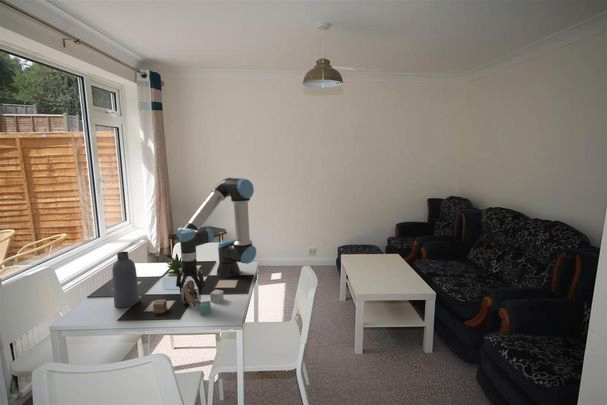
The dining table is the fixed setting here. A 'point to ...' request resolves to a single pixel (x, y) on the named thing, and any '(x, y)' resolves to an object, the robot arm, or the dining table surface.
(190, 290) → the toy
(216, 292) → the grey cube
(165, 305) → the walnut cube
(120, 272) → the vase
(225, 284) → the dining table surface
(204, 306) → the teal cube
